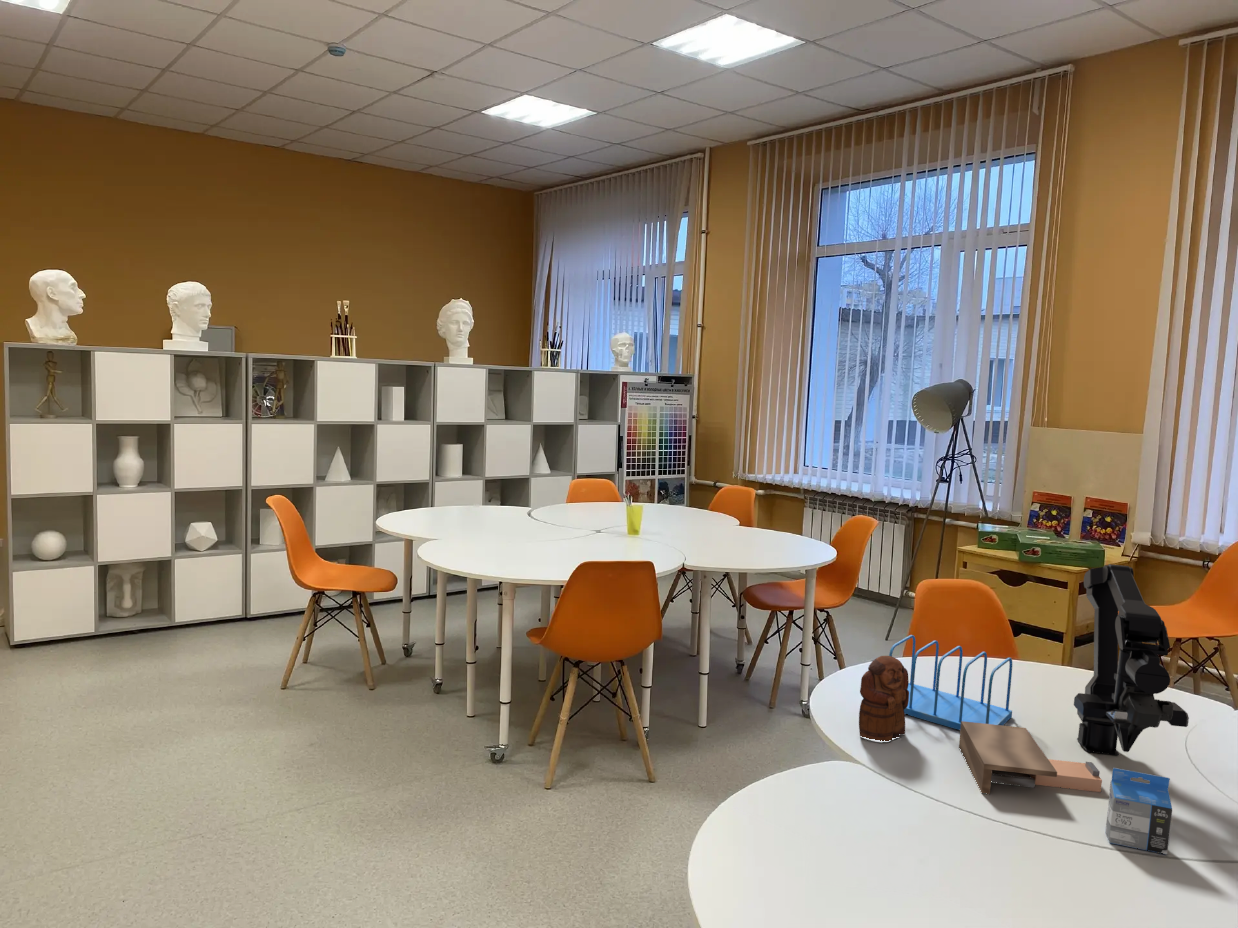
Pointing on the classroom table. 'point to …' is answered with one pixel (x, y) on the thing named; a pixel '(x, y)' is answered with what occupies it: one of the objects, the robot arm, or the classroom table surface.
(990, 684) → the file sorter
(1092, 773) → the pink slab with nub
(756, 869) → the classroom table surface
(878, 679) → the wooden figurine
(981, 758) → the low shelf
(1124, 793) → the label tape box
